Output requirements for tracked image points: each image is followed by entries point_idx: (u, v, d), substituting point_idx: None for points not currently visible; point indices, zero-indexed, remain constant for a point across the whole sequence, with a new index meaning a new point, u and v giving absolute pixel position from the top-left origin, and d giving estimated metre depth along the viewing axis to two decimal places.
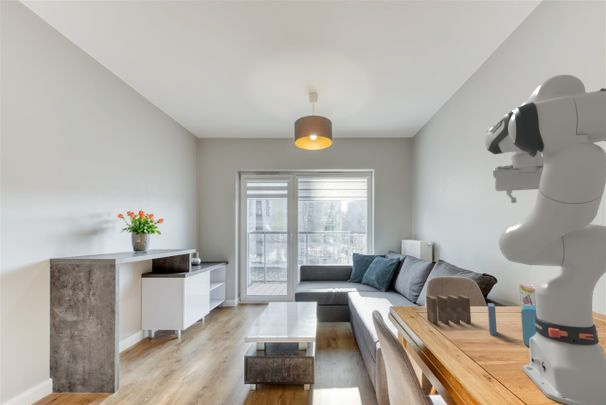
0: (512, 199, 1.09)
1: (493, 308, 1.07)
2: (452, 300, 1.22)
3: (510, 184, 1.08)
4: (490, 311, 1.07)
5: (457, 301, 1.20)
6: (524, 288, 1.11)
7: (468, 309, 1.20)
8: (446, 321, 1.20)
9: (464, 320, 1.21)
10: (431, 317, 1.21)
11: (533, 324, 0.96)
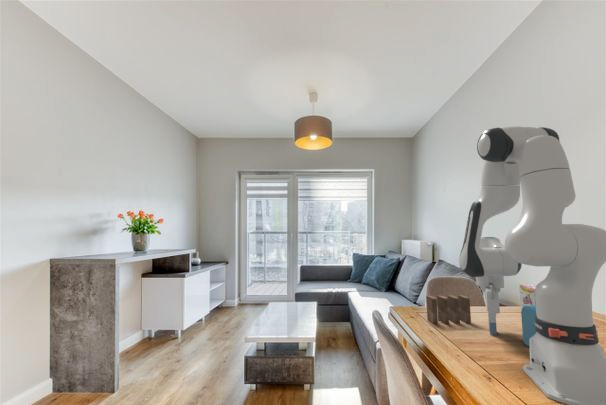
0: (495, 319, 1.06)
1: None
2: (452, 300, 1.22)
3: None
4: None
5: (457, 301, 1.20)
6: (524, 288, 1.11)
7: (468, 309, 1.20)
8: (446, 321, 1.20)
9: (464, 320, 1.21)
10: (431, 317, 1.21)
11: (533, 324, 0.96)
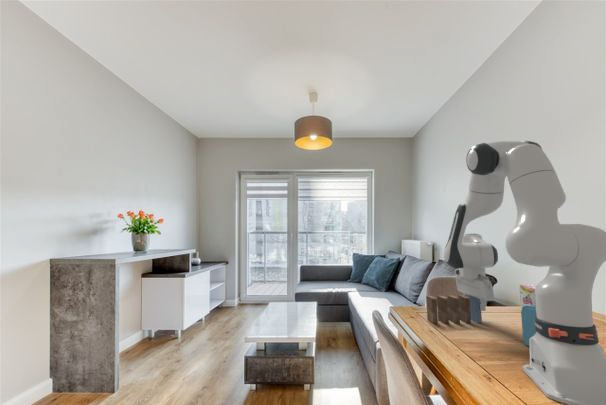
0: None
1: (479, 299, 1.21)
2: (452, 300, 1.22)
3: None
4: (477, 302, 1.21)
5: (457, 301, 1.20)
6: (524, 288, 1.11)
7: (468, 309, 1.20)
8: (446, 321, 1.20)
9: (464, 320, 1.21)
10: (431, 317, 1.21)
11: (533, 324, 0.96)
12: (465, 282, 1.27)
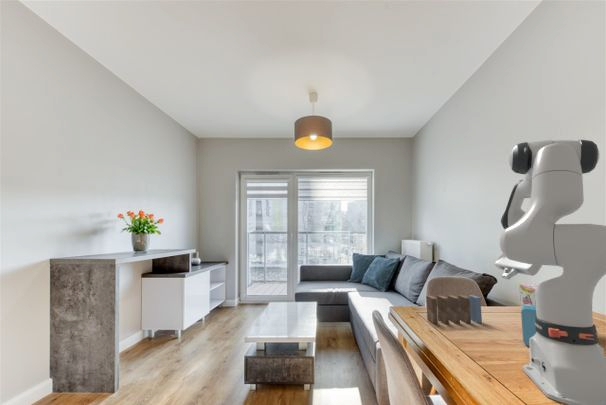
0: None
1: (479, 299, 1.21)
2: (452, 300, 1.22)
3: None
4: (477, 302, 1.21)
5: (457, 301, 1.20)
6: (524, 288, 1.11)
7: (468, 309, 1.20)
8: (446, 321, 1.20)
9: (464, 320, 1.21)
10: (431, 317, 1.21)
11: (533, 324, 0.96)
12: None
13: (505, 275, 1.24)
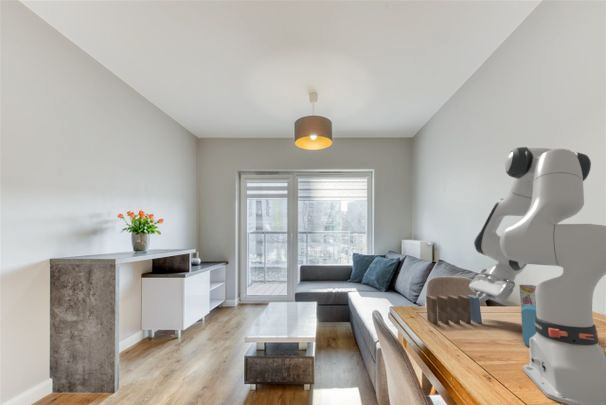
0: None
1: (477, 299, 1.21)
2: (452, 300, 1.22)
3: None
4: (475, 302, 1.21)
5: (457, 301, 1.20)
6: (524, 288, 1.11)
7: (468, 309, 1.20)
8: (446, 321, 1.20)
9: (464, 320, 1.21)
10: (431, 317, 1.21)
11: (533, 324, 0.96)
12: (484, 281, 1.28)
13: None
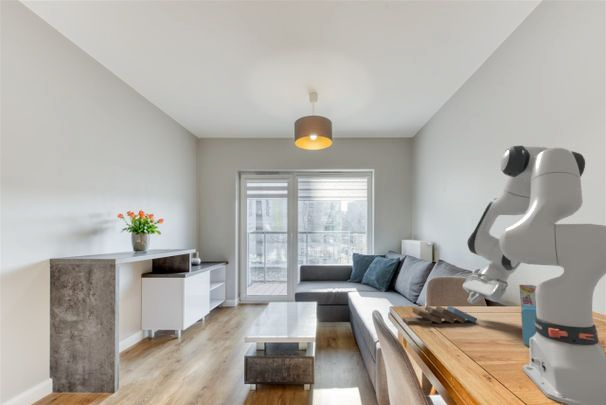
0: None
1: (456, 310, 1.20)
2: (432, 313, 1.20)
3: None
4: (457, 313, 1.20)
5: (435, 311, 1.19)
6: (524, 288, 1.11)
7: (453, 314, 1.20)
8: (439, 321, 1.19)
9: (460, 321, 1.21)
10: None
11: (533, 324, 0.96)
12: (477, 281, 1.27)
13: (470, 299, 1.23)
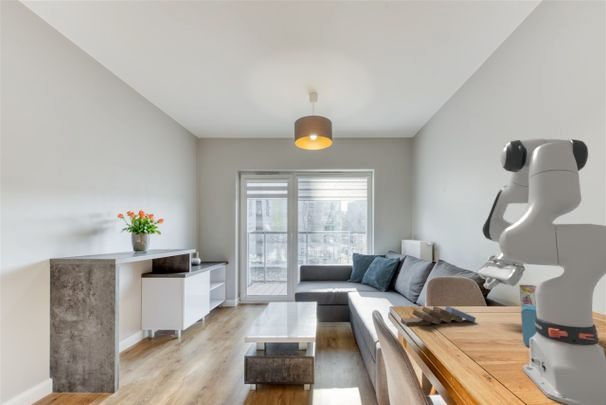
0: None
1: (453, 310, 1.21)
2: (429, 314, 1.20)
3: None
4: (455, 313, 1.21)
5: (432, 312, 1.19)
6: (524, 288, 1.11)
7: (450, 314, 1.21)
8: (438, 322, 1.18)
9: None
10: None
11: (533, 324, 0.96)
12: (493, 267, 1.28)
13: (487, 285, 1.23)
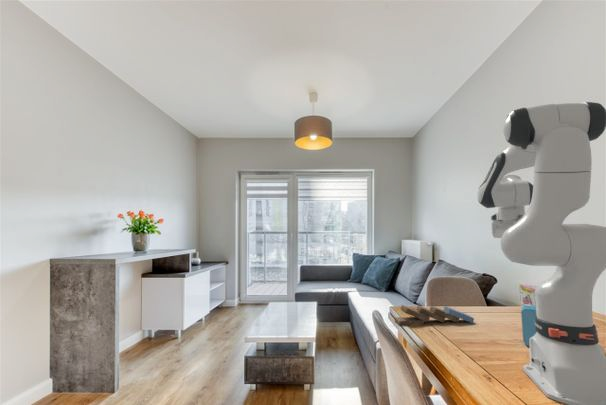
0: None
1: (451, 310, 1.21)
2: None
3: None
4: (453, 314, 1.21)
5: (423, 310, 1.22)
6: (524, 288, 1.11)
7: (445, 314, 1.21)
8: (426, 319, 1.20)
9: None
10: None
11: (533, 324, 0.96)
12: (503, 226, 1.25)
13: None
